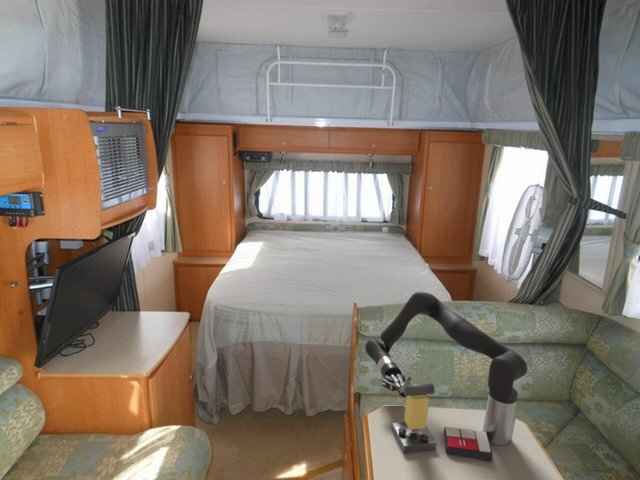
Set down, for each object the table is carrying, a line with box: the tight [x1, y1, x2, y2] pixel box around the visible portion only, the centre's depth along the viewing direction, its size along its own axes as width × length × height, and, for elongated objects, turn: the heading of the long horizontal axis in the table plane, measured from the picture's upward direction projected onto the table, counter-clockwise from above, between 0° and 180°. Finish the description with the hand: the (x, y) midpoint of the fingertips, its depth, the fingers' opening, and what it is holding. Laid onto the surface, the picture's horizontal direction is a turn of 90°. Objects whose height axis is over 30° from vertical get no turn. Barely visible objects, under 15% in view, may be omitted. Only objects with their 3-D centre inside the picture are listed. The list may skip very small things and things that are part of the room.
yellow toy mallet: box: [403, 382, 435, 432], centre depth 150 cm, size 10×5×18 cm, turn 101°
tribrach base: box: [391, 421, 438, 454], centre depth 153 cm, size 12×12×4 cm
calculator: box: [443, 426, 493, 463], centre depth 150 cm, size 11×4×15 cm
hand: (404, 395), depth 160 cm, fingers closed
